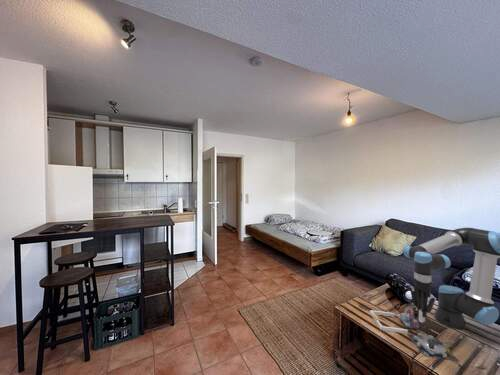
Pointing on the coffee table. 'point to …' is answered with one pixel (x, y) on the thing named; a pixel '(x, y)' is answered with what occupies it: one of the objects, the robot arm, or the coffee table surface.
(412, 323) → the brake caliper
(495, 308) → the robot arm
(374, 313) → the white angled bracket
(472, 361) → the coffee table surface
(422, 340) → the sprocket
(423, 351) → the index plate
